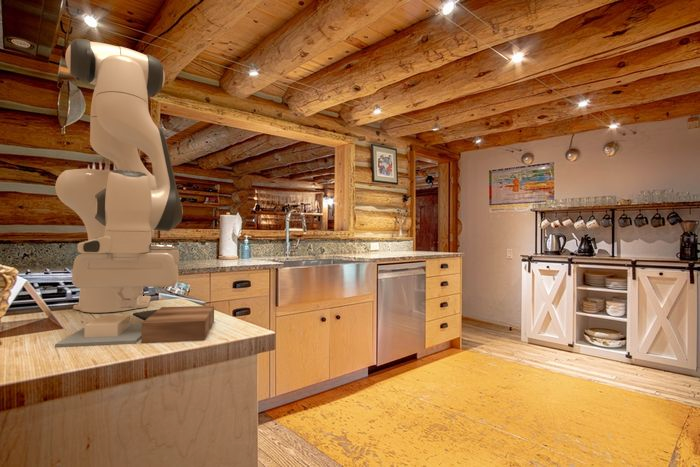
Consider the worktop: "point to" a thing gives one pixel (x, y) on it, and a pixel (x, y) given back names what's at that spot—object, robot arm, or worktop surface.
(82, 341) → the mat
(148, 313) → the smartphone
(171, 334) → the brown flat wooden block
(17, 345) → the worktop surface
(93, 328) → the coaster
